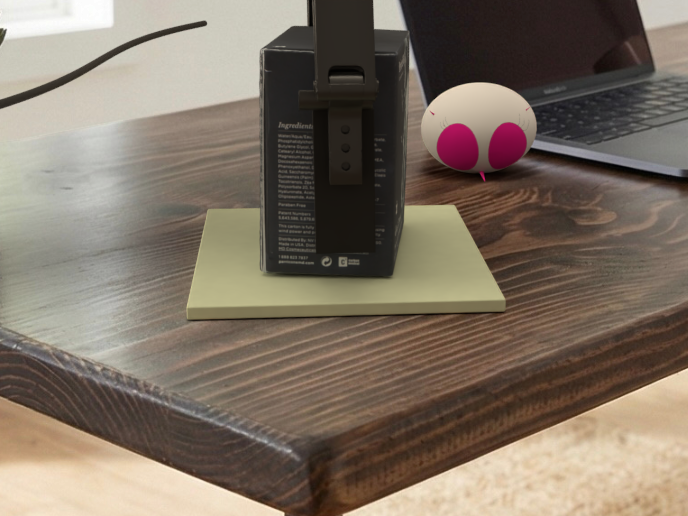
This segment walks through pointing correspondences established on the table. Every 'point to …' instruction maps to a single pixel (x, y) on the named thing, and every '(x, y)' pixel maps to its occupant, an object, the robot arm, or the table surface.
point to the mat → (343, 290)
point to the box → (297, 157)
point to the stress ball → (478, 128)
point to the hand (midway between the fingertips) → (339, 220)
